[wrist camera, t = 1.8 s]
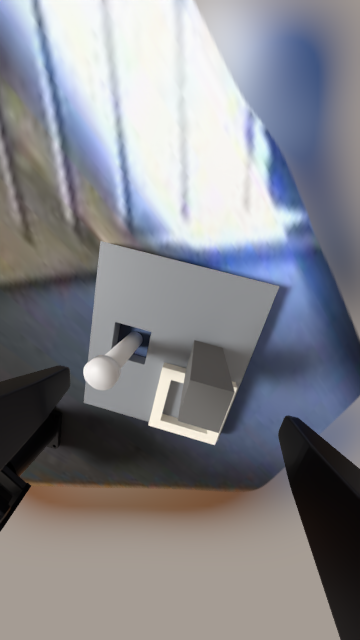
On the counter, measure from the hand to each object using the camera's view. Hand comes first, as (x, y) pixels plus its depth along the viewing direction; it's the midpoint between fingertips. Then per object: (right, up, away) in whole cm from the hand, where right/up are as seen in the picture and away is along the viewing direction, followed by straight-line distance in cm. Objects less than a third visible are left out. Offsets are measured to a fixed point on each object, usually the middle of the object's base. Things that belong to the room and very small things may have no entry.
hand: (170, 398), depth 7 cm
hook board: (-1, 0, +13) cm, 13 cm away
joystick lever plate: (+2, -4, +13) cm, 14 cm away
